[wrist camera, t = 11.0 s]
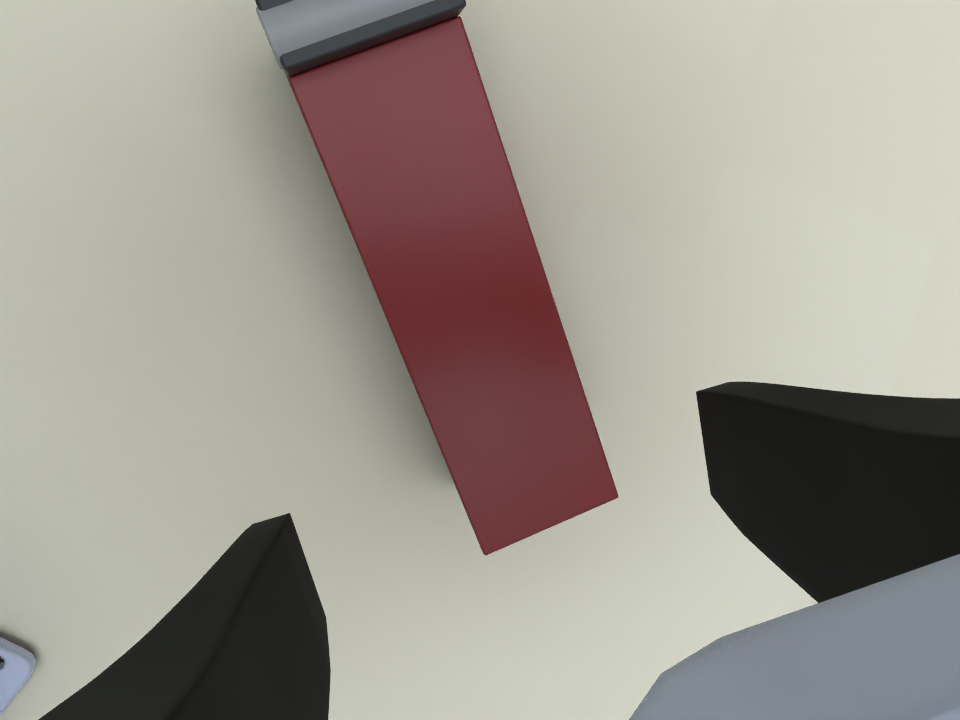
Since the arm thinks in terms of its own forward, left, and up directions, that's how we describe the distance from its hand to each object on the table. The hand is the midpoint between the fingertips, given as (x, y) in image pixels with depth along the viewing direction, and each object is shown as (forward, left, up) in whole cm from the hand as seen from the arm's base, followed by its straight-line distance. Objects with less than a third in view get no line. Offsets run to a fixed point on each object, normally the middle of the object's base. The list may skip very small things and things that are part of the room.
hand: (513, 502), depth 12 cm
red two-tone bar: (-2, +2, -9) cm, 9 cm away
